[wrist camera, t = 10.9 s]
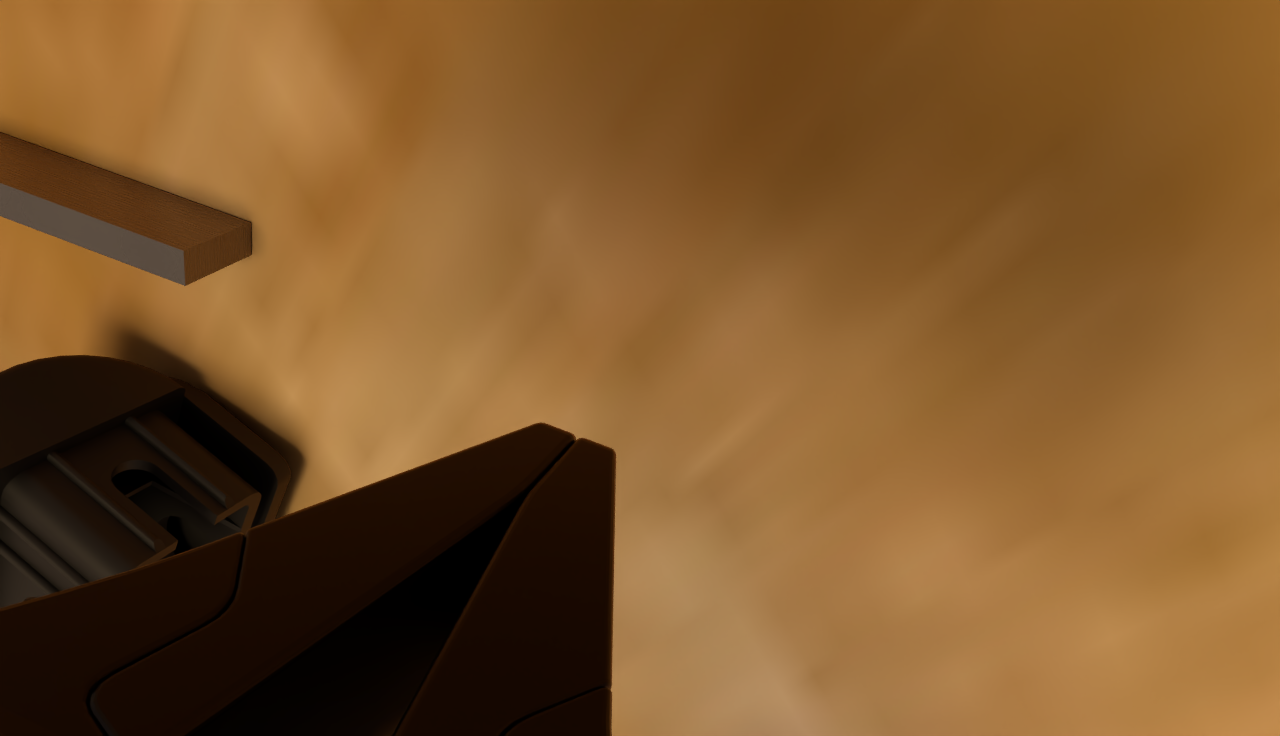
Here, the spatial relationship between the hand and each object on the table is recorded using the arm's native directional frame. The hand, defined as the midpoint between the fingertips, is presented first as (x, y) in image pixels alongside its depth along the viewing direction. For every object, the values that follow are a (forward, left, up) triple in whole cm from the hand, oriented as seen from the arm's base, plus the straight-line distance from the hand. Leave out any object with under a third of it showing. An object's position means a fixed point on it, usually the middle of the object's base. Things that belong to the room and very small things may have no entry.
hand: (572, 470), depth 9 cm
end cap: (-16, +16, -12) cm, 26 cm away
